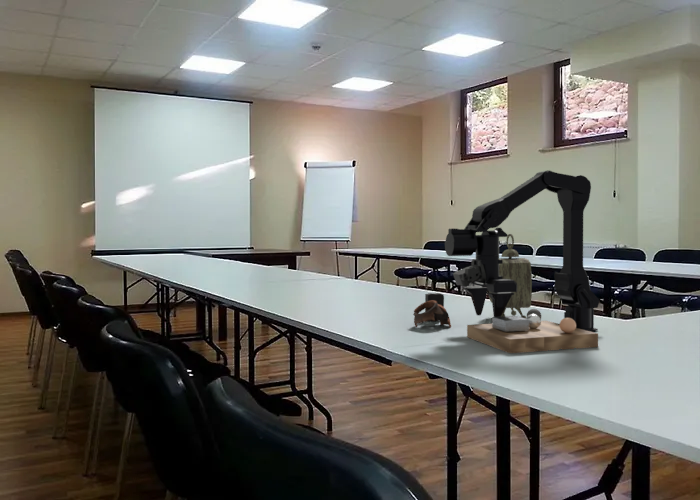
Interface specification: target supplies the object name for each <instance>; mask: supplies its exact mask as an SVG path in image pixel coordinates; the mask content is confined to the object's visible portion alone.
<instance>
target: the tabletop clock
mask: <svg viewBox="0 0 700 500" xmlns="http://www.w3.org/2000/svg"><path fill="white" fill-rule="evenodd" d="M507 235H508V236H507V237H506V247H507V248H508V249H505V250H504V251H503V252H502V253H501V258H500V257H499V259H501V260H503V264H499V276H503V279H510V280H514V281H515V282H516V283H517V292H513V293H514V295H512V297H511V298H510V300H509V302H508V303H507V305H506V307H505V309H504V311H503V313H502V315H501V317H502V316H506V314H505V312H506V310H507V309H511V311H510V316H517V312H518V314H520V317H522V318H526V317H527V315H524V314H523V311H522V310H521V309H524V308H525V309H529V308H531V306H532V294H533V293H532V291H533V290H532V287H533V283H532V282H533V281H532V279H533V277H532V276H533V275H532V264H531V261H530V260H529V259H527V258H525V257H520V255H519V252H518V251H517V250H516V249H513V247H514V244H515V239H514V235H513V234H512V233H507ZM509 238H511V241H512V242H511V243H509ZM488 293H491V292H489V291H488ZM488 297H489V300H490V301H489V302H491V303H492V299H491V298H490V296H489V295H488Z"/></svg>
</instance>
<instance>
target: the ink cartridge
mask: <svg viewBox="0 0 700 500" xmlns="http://www.w3.org/2000/svg"><path fill="white" fill-rule="evenodd" d="M424 295H425V296H424V297H425V300H424V302H427V301H431V300H434V301H436V302H437V304H439V305H442V306H443V307H444V308H445V295H444V294H443V293H440V292H434V293H433V292H427V293H425V294H424ZM424 312H426V309H424ZM428 322H431V321H430V320H429V321H428ZM437 322H440V320H439V319H438V321H437Z"/></svg>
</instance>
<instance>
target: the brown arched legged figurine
mask: <svg viewBox="0 0 700 500" xmlns="http://www.w3.org/2000/svg"><path fill="white" fill-rule="evenodd" d="M425 309H426V312H425ZM422 311H423V312H422ZM412 315H413V316H414V318H413V324H414V326H415V328H417V327H418V324H423V323H427V322H431V323H436V322H439V323H440V325H441V326H445V325H447V326H448V328H449V329H451V328H452V324H451V318H450V316H449V312H448V311H447V309H446V308H445V306H444V307H443V306H442V305H439V304H437V302H436V301H434V300H431V301H427V302H425V301H424V302H422V303H421V304H419V305H418V306H417V307H415V309H414V310H413V314H412ZM438 319H439V320H440V321H438ZM429 320H430V321H429Z"/></svg>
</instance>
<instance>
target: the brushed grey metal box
mask: <svg viewBox="0 0 700 500" xmlns="http://www.w3.org/2000/svg"><path fill="white" fill-rule="evenodd" d="M491 320H492V321H491V324H492V328H495V329H498V330H502V331H505V332H509V331H526V330H529V319H526V318H522V317H521V316H519V315H515V316H513V315H505V316H502V317H494V316H492V319H491Z"/></svg>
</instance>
